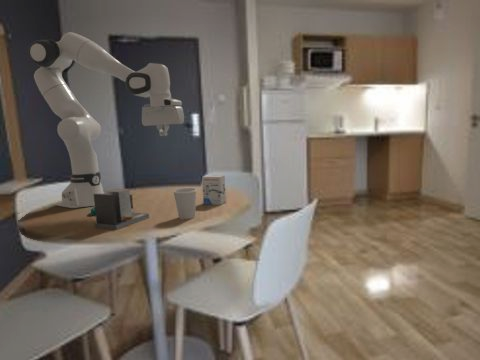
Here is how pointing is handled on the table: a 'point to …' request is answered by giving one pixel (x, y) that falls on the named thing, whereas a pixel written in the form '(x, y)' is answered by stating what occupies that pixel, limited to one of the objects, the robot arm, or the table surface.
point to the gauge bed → (112, 213)
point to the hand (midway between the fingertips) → (163, 135)
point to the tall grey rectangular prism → (122, 203)
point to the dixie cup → (185, 202)
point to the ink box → (214, 189)
